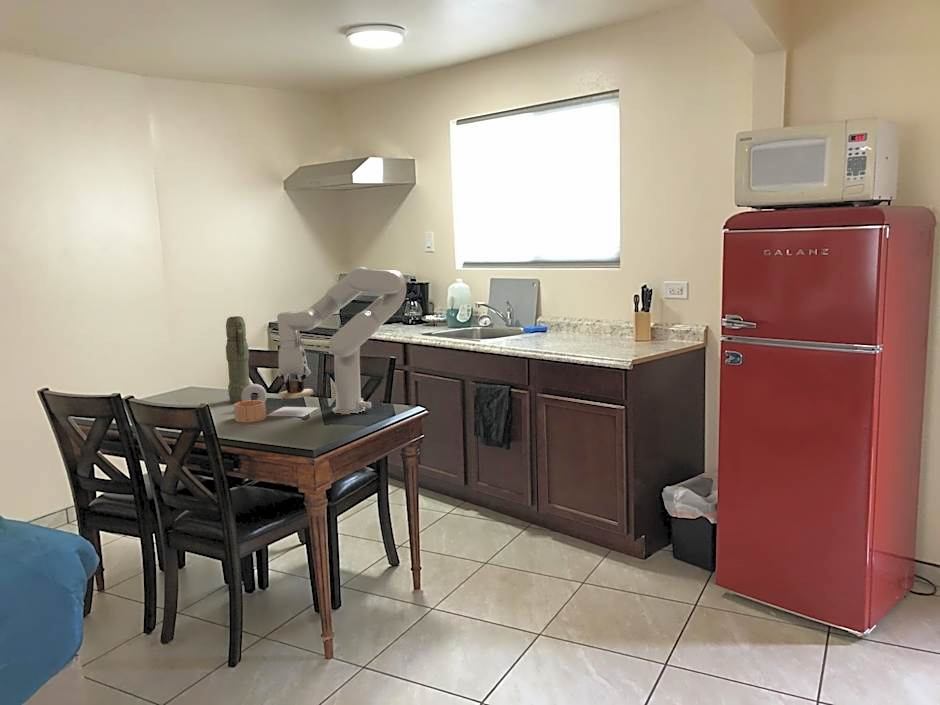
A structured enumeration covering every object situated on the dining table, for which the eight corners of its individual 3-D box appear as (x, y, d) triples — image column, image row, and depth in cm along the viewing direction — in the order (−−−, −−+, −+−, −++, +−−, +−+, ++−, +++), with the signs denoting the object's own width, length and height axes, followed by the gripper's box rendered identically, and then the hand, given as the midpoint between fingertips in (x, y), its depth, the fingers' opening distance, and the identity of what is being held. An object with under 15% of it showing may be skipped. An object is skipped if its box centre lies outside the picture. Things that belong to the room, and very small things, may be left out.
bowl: (271, 416, 278) (270, 400, 277) (257, 423, 267) (256, 407, 266) (244, 415, 280) (243, 399, 279) (229, 422, 269) (228, 406, 268)
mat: (319, 408, 290) (319, 407, 290) (303, 417, 275) (303, 416, 275) (283, 407, 293) (283, 406, 293) (266, 416, 278) (266, 415, 278)
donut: (243, 411, 287) (242, 386, 286) (240, 409, 290) (239, 384, 289) (268, 407, 293) (267, 382, 291) (265, 406, 296) (264, 381, 294)
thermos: (236, 404, 299) (231, 318, 294) (224, 400, 308) (218, 316, 303) (257, 401, 305) (251, 316, 300) (244, 397, 314) (239, 315, 309)
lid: (318, 391, 288) (316, 376, 287) (304, 398, 276) (303, 383, 275) (287, 392, 291) (285, 377, 290) (272, 399, 278) (270, 384, 277)
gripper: (315, 342, 282) (319, 389, 285) (274, 343, 286) (279, 390, 288) (307, 344, 275) (312, 393, 278) (265, 346, 278) (270, 394, 281)
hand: (295, 391), depth 283 cm, fingers closed on lid, 4 cm apart
